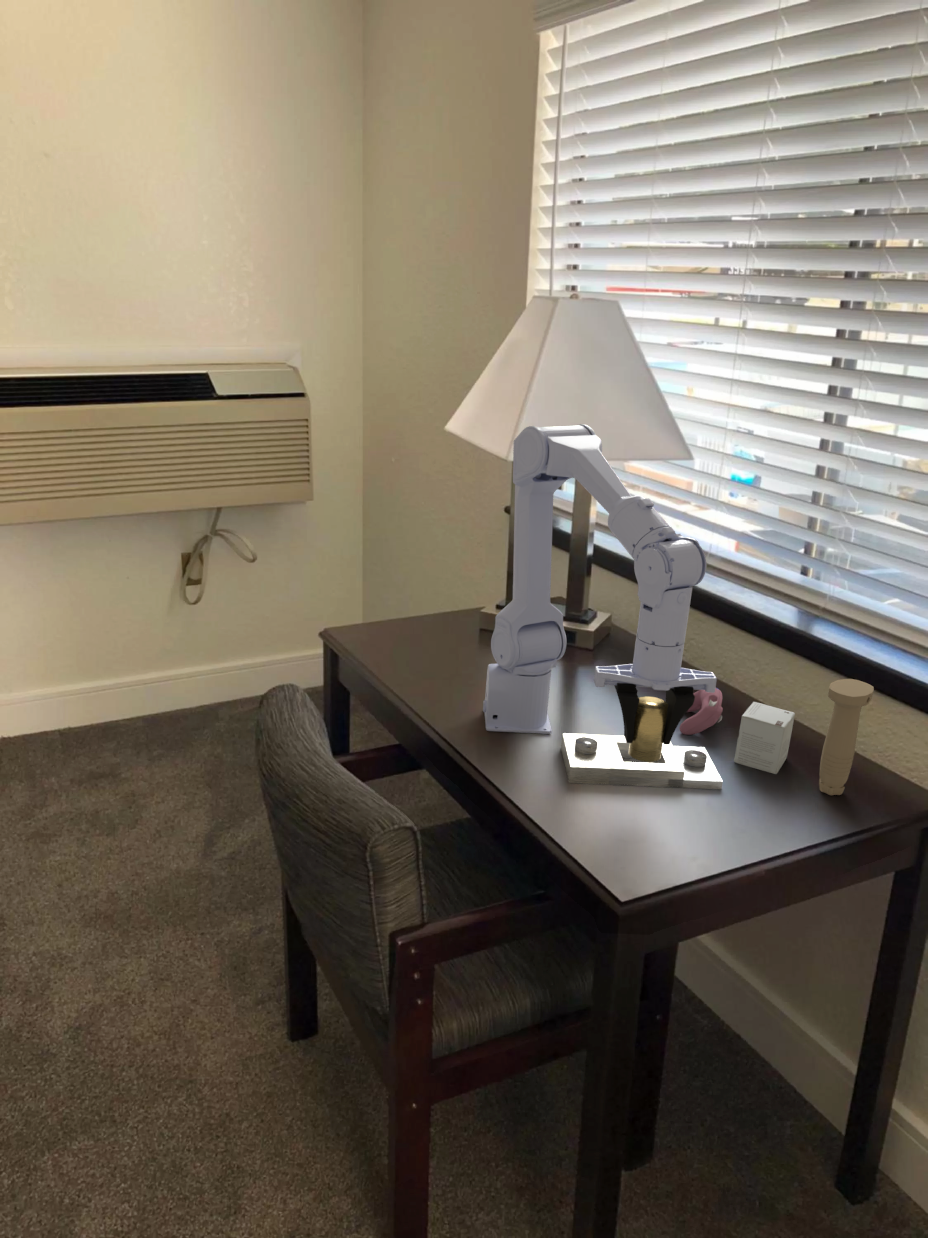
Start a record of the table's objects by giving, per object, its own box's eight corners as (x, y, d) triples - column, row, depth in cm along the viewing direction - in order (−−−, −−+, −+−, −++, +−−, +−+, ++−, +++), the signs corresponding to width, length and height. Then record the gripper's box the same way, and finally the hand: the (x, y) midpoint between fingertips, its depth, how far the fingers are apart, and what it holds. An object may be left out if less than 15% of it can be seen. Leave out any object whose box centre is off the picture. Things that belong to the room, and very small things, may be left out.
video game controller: (703, 748, 146) (731, 712, 143) (676, 732, 146) (704, 695, 143) (701, 720, 155) (727, 686, 152) (676, 705, 155) (702, 670, 152)
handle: (801, 790, 132) (821, 687, 127) (825, 776, 136) (846, 675, 131) (834, 805, 129) (857, 700, 124) (859, 791, 133) (881, 688, 128)
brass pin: (631, 761, 122) (638, 709, 120) (626, 746, 126) (632, 695, 124) (663, 762, 122) (671, 711, 120) (657, 747, 126) (664, 697, 124)
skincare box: (744, 747, 144) (752, 700, 141) (787, 758, 141) (796, 711, 138) (733, 763, 139) (740, 715, 136) (776, 775, 136) (785, 726, 133)
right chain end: (608, 784, 130) (610, 768, 130) (597, 750, 140) (599, 734, 139) (721, 789, 131) (724, 773, 130) (703, 754, 140) (705, 739, 139)
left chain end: (569, 783, 130) (571, 758, 129) (560, 748, 139) (563, 725, 138) (682, 787, 131) (686, 763, 130) (666, 753, 140) (670, 730, 139)
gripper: (605, 647, 115) (592, 752, 120) (729, 653, 115) (712, 758, 120) (596, 626, 122) (585, 726, 126) (714, 632, 122) (698, 732, 127)
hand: (646, 740), depth 123 cm, fingers closed on brass pin, 4 cm apart
